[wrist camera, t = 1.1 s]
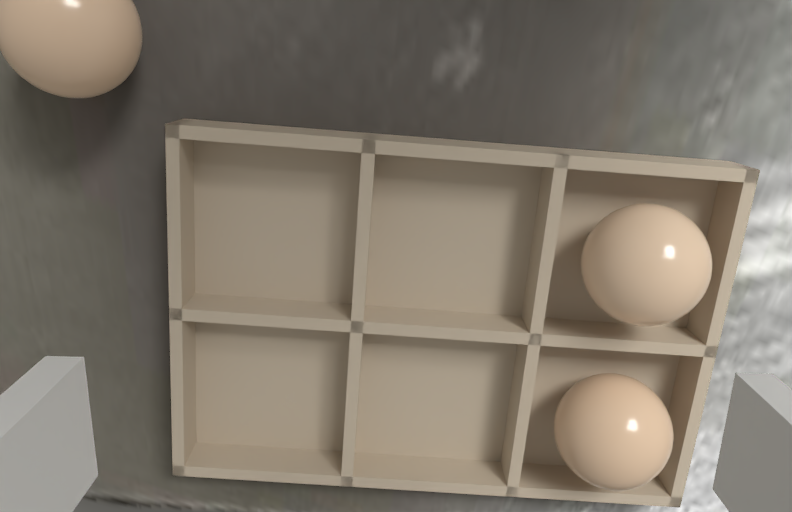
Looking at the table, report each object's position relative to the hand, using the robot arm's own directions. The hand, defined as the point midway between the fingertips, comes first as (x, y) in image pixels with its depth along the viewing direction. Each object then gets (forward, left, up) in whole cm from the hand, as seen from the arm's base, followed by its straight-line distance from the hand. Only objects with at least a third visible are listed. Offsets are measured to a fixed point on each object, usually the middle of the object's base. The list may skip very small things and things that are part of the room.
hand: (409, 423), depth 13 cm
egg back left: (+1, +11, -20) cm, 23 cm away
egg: (-7, -14, -20) cm, 26 cm away
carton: (+5, +3, -20) cm, 21 cm away
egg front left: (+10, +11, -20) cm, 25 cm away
